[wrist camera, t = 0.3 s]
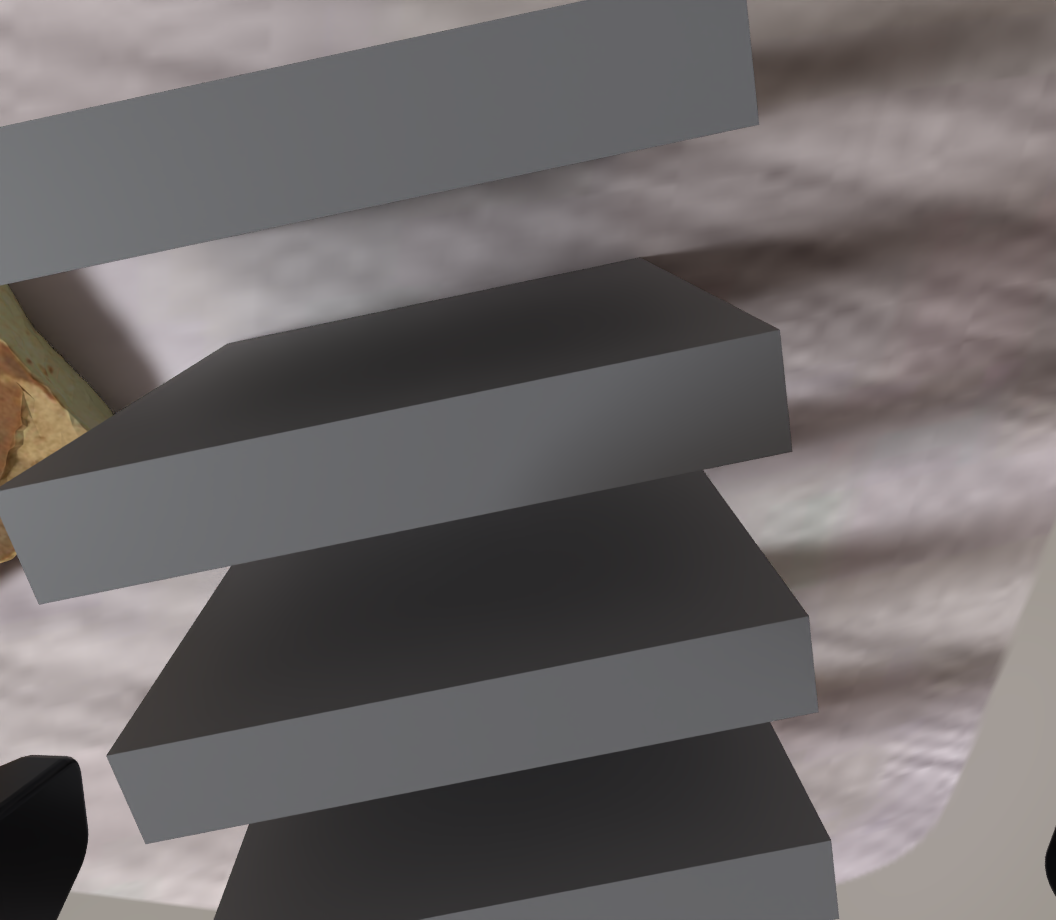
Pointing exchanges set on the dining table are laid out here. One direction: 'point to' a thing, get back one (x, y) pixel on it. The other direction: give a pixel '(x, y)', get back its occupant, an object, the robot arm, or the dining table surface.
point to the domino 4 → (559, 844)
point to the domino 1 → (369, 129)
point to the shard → (36, 400)
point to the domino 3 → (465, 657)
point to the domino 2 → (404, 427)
